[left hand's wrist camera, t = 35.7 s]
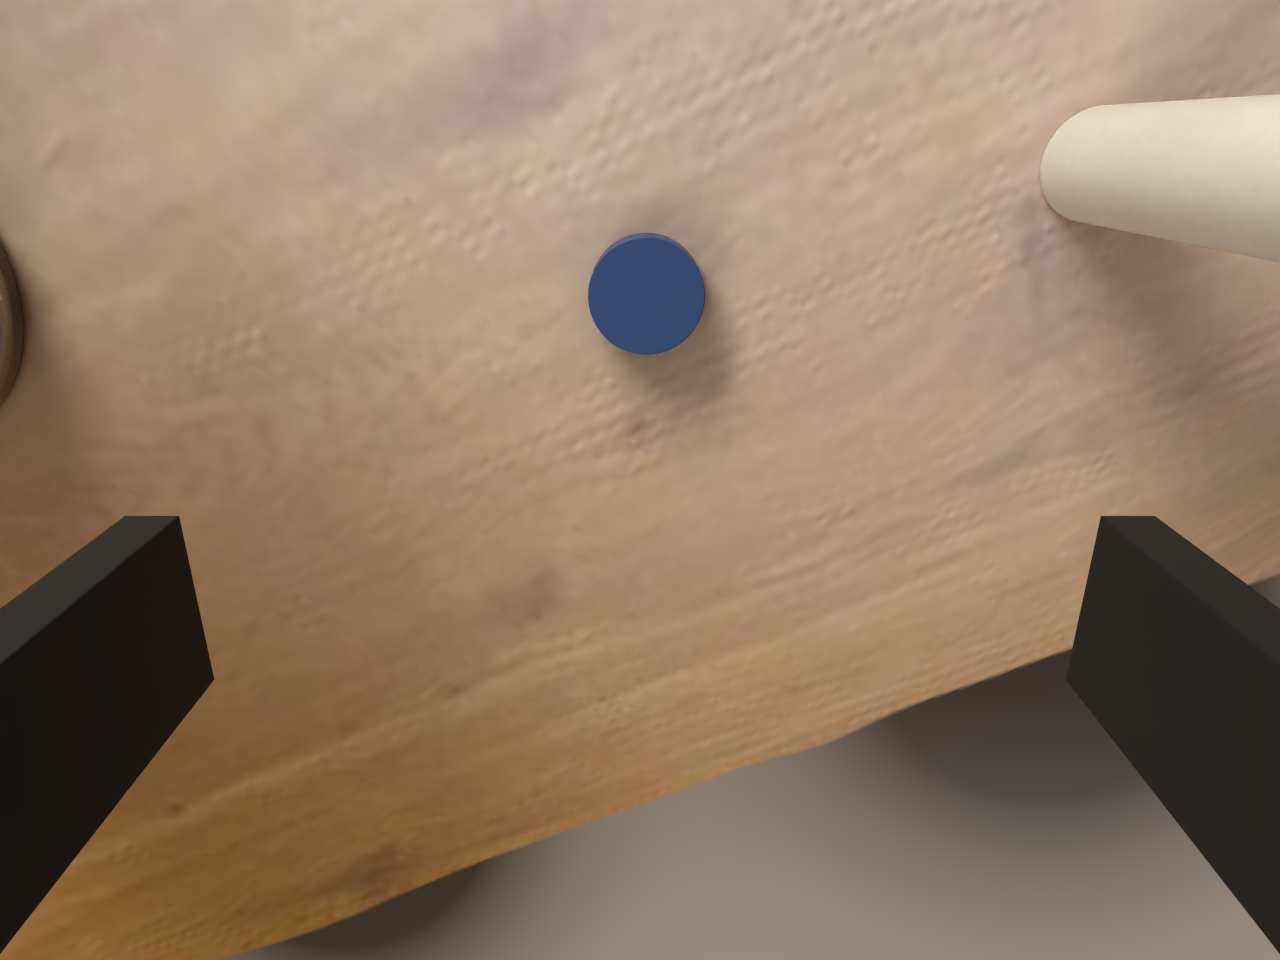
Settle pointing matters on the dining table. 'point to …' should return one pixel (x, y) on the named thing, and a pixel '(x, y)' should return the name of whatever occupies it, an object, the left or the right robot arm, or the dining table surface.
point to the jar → (1173, 171)
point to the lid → (646, 294)
